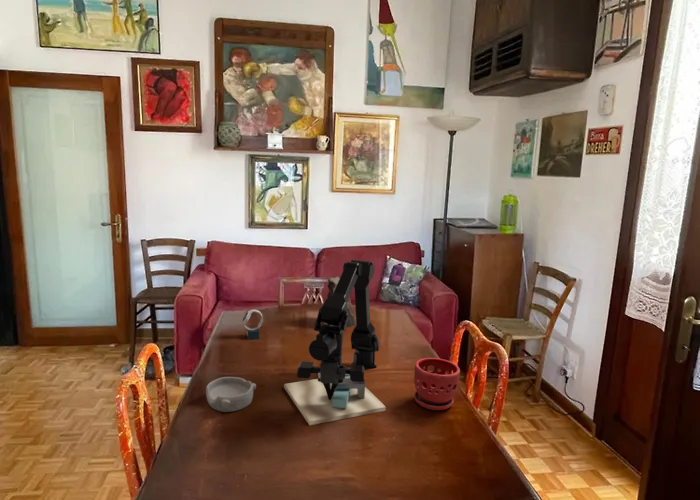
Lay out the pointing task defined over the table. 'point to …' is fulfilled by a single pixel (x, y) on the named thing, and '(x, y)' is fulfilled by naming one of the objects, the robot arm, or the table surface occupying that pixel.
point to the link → (341, 397)
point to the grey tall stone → (351, 320)
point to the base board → (329, 402)
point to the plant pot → (435, 383)
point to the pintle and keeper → (353, 386)
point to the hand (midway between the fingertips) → (330, 399)
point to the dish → (229, 393)
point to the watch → (252, 331)
